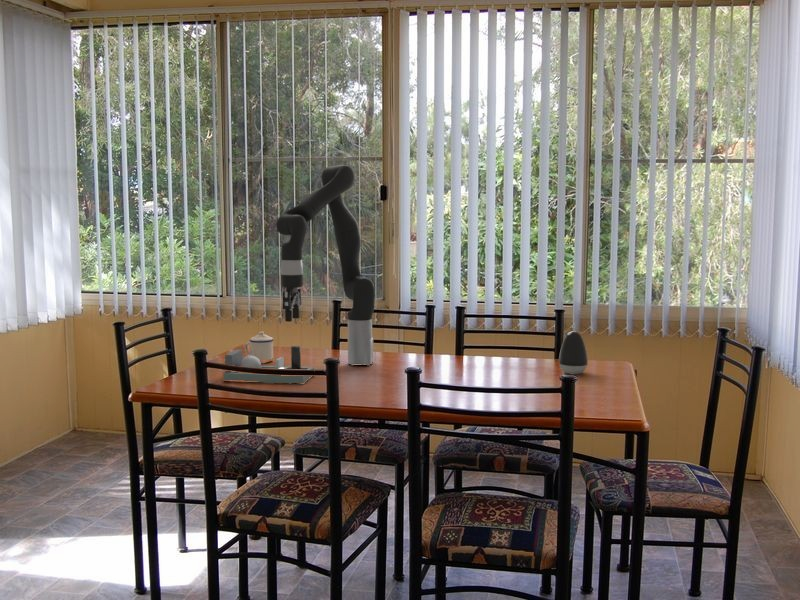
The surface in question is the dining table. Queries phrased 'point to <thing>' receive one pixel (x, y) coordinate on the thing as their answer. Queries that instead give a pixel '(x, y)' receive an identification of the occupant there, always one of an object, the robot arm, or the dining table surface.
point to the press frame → (235, 359)
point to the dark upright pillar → (294, 359)
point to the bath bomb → (250, 362)
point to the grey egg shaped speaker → (573, 354)
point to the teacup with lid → (260, 346)
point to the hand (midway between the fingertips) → (292, 319)
